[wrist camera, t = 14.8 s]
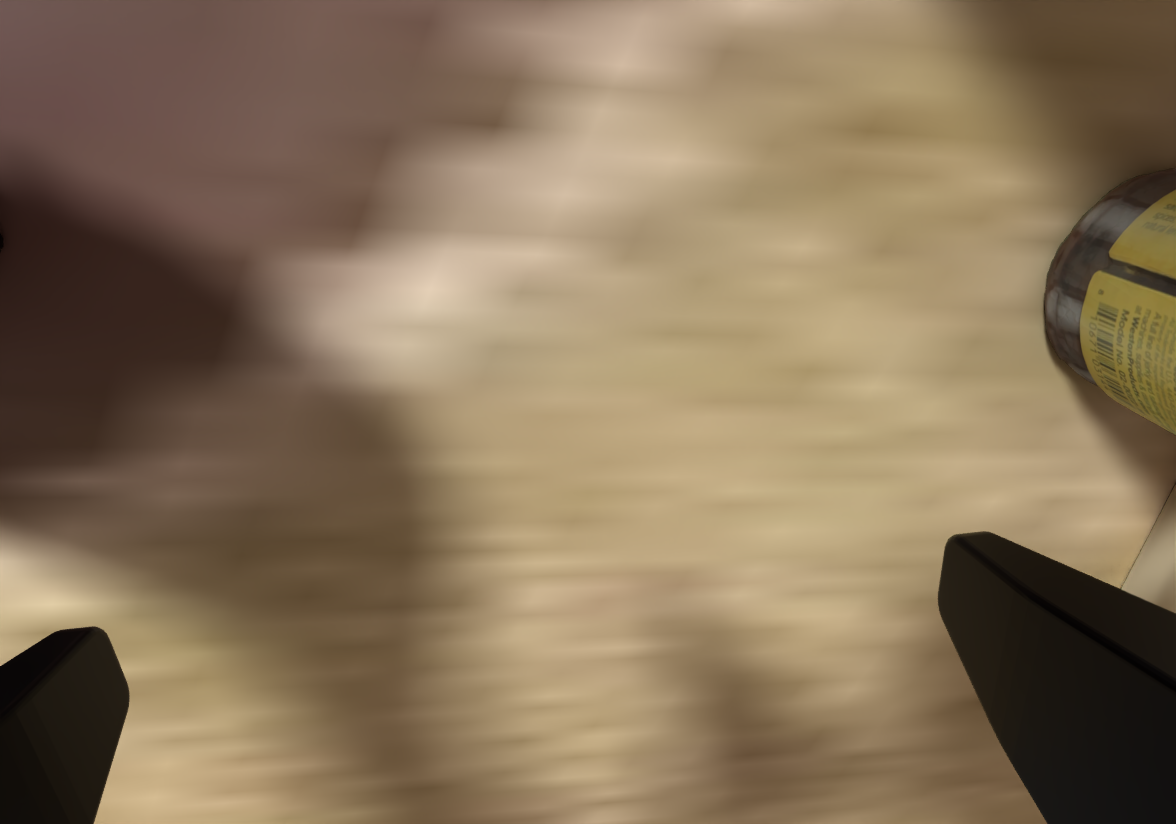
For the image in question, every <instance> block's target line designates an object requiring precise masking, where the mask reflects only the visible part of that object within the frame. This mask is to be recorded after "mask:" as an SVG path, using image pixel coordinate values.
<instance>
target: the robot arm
mask: <svg viewBox="0 0 1176 824" xmlns="http://www.w3.org/2000/svg"><path fill="white" fill-rule="evenodd" d="M2 248H3V238H2V236H1V233H0V252H1V250H2ZM938 606H939V611H940V615H941V617H942V620H943V622H944V624H945V627H946V629H947V631H948V633H949V635H950V637H951V640H952V642H953V644H954V646H955V648H956V650H957V653H958V655H959V657H960V659H961V661H962V663H963V666H964V668H965V670H966V672H967V674H968V676H969V679H970V681H971V683H972V685H973V687H974V689H975V692H976V694H977V696H978V698H979V700H980V702H981V705H982V707H983V709H984V711H985V713H986V715H987V718H988V720H989V722H990V724H991V726H992V728H993V730H994V732H995V734H996V736H997V738H998V740H999V742H1000V744H1001V745H1002V747H1003V749H1004V751H1005V753H1006V754H1007V756H1008V758H1009V760H1010V761H1011V763H1012V765H1013V767H1014V768H1015V770H1016V772H1017V773H1018V775H1019V777H1020V778H1021V780H1022V782H1023V783H1024V785H1025V787H1026V788H1027V790H1028V792H1029V793H1030V795H1031V797H1032V798H1033V800H1034V802H1035V803H1036V805H1037V807H1038V808H1039V810H1040V812H1041V814H1042V815H1043V817H1044V819H1045V820H1046V822H1047V824H1176V613H1174V612H1172V611H1169V610H1167V609H1165V608H1162V607H1160V606H1158V605H1156V604H1153V603H1151V602H1149V601H1146V600H1144V599H1142V598H1140V597H1137V596H1135V595H1133V594H1130V593H1128V592H1126V591H1124V590H1121V589H1119V588H1117V587H1114V586H1112V585H1110V584H1108V583H1105V582H1103V581H1101V580H1098V579H1096V578H1094V577H1092V576H1089V575H1087V574H1085V573H1082V572H1080V571H1078V570H1076V569H1073V568H1071V567H1069V566H1066V565H1064V564H1062V563H1060V562H1057V561H1055V560H1053V559H1050V558H1048V557H1046V556H1044V555H1041V554H1039V553H1037V552H1034V551H1032V550H1030V549H1028V548H1025V547H1023V546H1021V545H1018V544H1016V543H1014V542H1012V541H1009V540H1007V539H1005V538H1002V537H1000V536H998V535H996V534H993V533H991V532H984V531H983V532H974V533H964V534H956V535H953V536H952V537H950V538H949V539H948V541H947V543H946V546H945V549H944V556H943V563H942V570H941V577H940V584H939V591H938ZM128 707H129V688H128V684H127V681H126V679H125V676H124V674H123V671H122V669H121V666H120V664H119V661H118V659H117V656H116V654H115V651H114V649H113V646H112V644H111V642H110V639H109V637H108V635H107V633H106V632H105V631H104V630H102V629H101V628H98V627H83V628H74V629H65V630H59V631H56V632H54V633H52V634H50V635H49V636H47V637H46V638H44V639H43V640H41V641H39V642H38V643H36V644H35V645H33V646H32V647H30V648H28V649H27V650H25V651H24V652H22V653H20V654H19V655H17V656H16V657H14V658H13V659H11V660H9V661H8V662H6V663H5V664H3V665H2V666H0V824H94V821H95V818H96V814H97V811H98V808H99V804H100V801H101V798H102V794H103V791H104V788H105V784H106V781H107V778H108V775H109V771H110V768H111V765H112V761H113V758H114V755H115V751H116V748H117V745H118V742H119V738H120V735H121V732H122V728H123V725H124V722H125V718H126V715H127V712H128Z"/></svg>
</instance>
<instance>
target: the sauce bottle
mask: <svg viewBox="0 0 1176 824" xmlns="http://www.w3.org/2000/svg"><path fill="white" fill-rule="evenodd" d="M1045 315H1046V330H1047V334H1048V337H1049V340H1050V342H1051V344H1052V346H1053V348H1054V350H1055V351H1056V353H1057V354H1058V356H1059V358H1060V359H1062V360H1063V361H1065V362H1066V363H1067V364H1068V365H1069V366H1070V367H1071V368H1072V369H1073V370H1074V371H1075V372H1076V373H1078V374H1079V375H1081V376H1082V377H1083V378H1085V379H1086V380H1088V381H1089V382H1090V383H1092V384H1095V385H1097V386H1099V387H1100V388H1101V389H1102V390H1103V391H1104V392H1105V393H1106V394H1107V395H1108V396H1109V397H1111V398H1112V399H1114V400H1115V401H1116V402H1118V403H1119V404H1121V405H1123V406H1125V407H1126V408H1128V409H1130V410H1132V411H1134V412H1135V413H1137V414H1139V415H1141V416H1142V417H1144V418H1146V419H1148V420H1149V421H1151V422H1153V423H1155V424H1157V425H1158V426H1160V427H1162V428H1164V429H1165V430H1167V431H1169V432H1171V433H1173V434H1174V435H1176V169H1169V170H1165V171H1158V172H1155V173H1153V174H1147V175H1141V176H1137V177H1134V178H1132V179H1129V180H1127V181H1126V182H1124V183H1122V184H1121V185H1119V186H1117V187H1116V188H1115V189H1113V190H1111V191H1110V192H1109V193H1108V194H1107V195H1105V196H1104V197H1102V198H1101V200H1100V201H1099V202H1098V203H1097V204H1096V205H1095V206H1093V207H1092V208H1091V209H1090V210H1089V211H1088V212H1087V213H1086V214H1085V215H1084V216H1083V217H1082V218H1081V219H1080V220H1079V221H1078V223H1077V224H1076V225H1075V226H1074V228H1073V229H1072V231H1071V233H1070V234H1069V235H1068V236H1067V237H1066V239H1065V240H1064V242H1062V243H1061V245H1060V246H1059V248H1058V250H1057V252H1056V255H1055V257H1054V259H1053V260H1052V262H1051V266H1050V269H1049V271H1048V274H1047V286H1046V292H1045Z"/></svg>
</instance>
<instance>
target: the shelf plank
mask: <svg viewBox="0 0 1176 824" xmlns="http://www.w3.org/2000/svg"><path fill="white" fill-rule="evenodd" d="M1121 590H1124V591H1126V592H1128V593H1130V594H1133V595H1135V596H1137V597H1140V598H1142V599H1144V600H1146V601H1149V602H1151V603H1153V604H1156V605H1158V606H1160V607H1162V608H1165V609H1167V610H1169V611H1172V612H1174V613H1176V484H1175V486H1174V488H1173V490H1172V492H1171V494H1170V496H1169V498H1168V500H1167V502H1166V504H1165V505H1164V507H1163V509H1162V511H1161V513H1160V515H1159V517H1158V519H1157V521H1156V523H1155V525H1154V527H1153V529H1152V530H1151V532H1150V534H1149V536H1148V538H1147V540H1146V542H1145V544H1144V546H1143V548H1142V550H1141V552H1140V554H1139V556H1138V557H1137V559H1136V561H1135V563H1134V565H1133V567H1132V569H1131V571H1130V573H1129V575H1128V577H1127V579H1126V581H1125V582H1124V584H1123V586H1122V588H1121Z"/></svg>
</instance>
